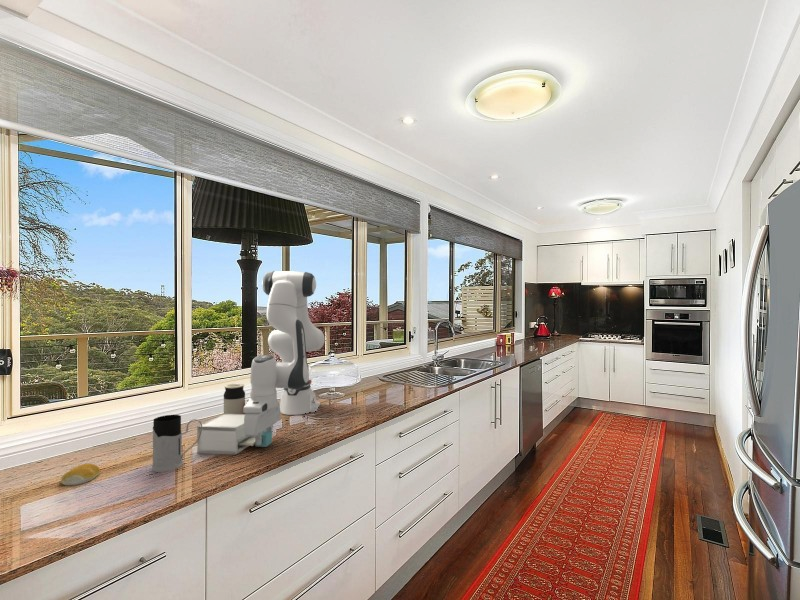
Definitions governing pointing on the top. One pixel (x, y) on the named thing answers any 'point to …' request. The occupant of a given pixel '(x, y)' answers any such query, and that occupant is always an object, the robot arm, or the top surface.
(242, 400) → the travel mug
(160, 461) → the glass holder
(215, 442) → the white box
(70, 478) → the bread roll
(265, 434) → the cream and teal block
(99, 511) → the top surface
